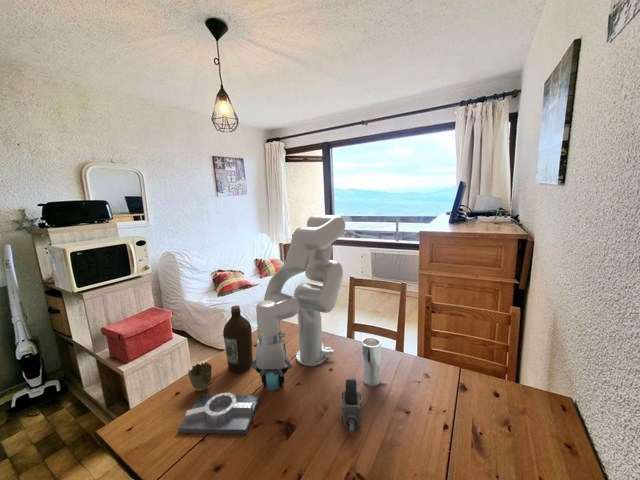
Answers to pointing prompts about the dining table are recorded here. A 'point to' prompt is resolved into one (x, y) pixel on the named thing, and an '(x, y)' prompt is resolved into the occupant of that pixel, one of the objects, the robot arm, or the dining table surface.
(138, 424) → the dining table surface
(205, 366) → the cup
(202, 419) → the coupling base
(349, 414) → the caster wheel
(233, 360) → the olive oil
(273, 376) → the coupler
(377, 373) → the beer glass
